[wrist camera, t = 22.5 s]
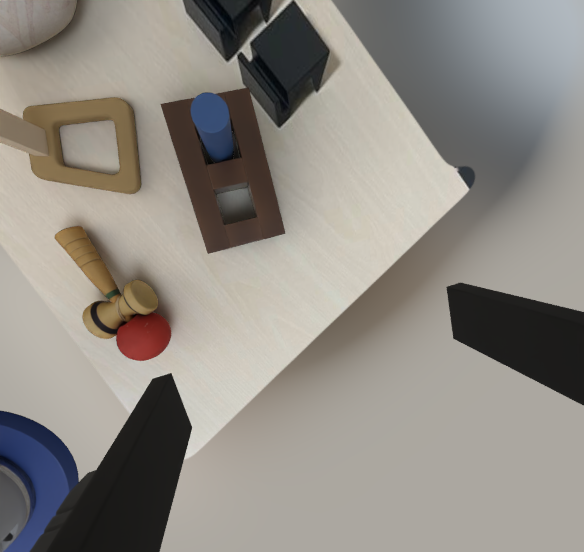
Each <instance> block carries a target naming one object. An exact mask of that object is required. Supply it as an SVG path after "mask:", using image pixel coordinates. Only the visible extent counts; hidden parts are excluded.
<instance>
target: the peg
mask: <svg viewBox="0 0 584 552" xmlns="http://www.w3.org/2000/svg"><path fill="white" fill-rule="evenodd" d="M191 117H192V120H193V122H194V124H195V126H196V128H197V130H198V133H199V135H200V137H201V139H202V141H203V143H204V146H205V148H206V150H207V152H208V154H209V156H210V158H211V160H212V161H213V162H214V163H219V162H223V161H228V160H232V159H233V158H234V147H233V139H232V131H231V123H230V115H229V109H228V106H227V104H226V103H225V101H224V100H223V99H222V98H221V97H220V96H218V95H216V94H213V93H202V94H200V95H198V96H197V97H196V98H195V99H194V100H193V102H192V104H191Z"/></svg>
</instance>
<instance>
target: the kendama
mask: <svg viewBox="0 0 584 552" xmlns="http://www.w3.org/2000/svg"><path fill="white" fill-rule="evenodd" d="M55 239H56V241H57V242H58V243H59V244H60V245H61V246H62V247H63V248H64V249H65V250H66V252H67V253H68V254H69V255H70V256H71V258H72V259H73V260H74V261H75V262H76V264H77V265H78V266H79V267H80V268H81V270H82V271H83V272H84V273H85V275H86V276H87V277H88V278H89V279H90V280H91V282H92V283H93V284H94V285H95V286H96V287H97V288H98V289H99V290H100V291H101V292H102V293H103V294H104V295H105V296H106V297H107V298H108V299H109V300H110V301H111V302H106V301H96V302H94V303H92V304H91V305H89V306H88V307H87V308H86V309H85V310H84V312H83V322H84V324H85V326H86V328H87V329H88V330H89V331H90V332H91V333H92V334H93V335H95V336H97V337H99V338H103V339H109V338H112V337H114V336H116V335H117V336H116V341H117V346H118V348H119V350H120V351H121V353H122V354H124V355H125V356H126V357H128V358H130V359H133V360H138V361H144V360H149V359H151V358H154V357H156V356H158V355H159V354H160V353H162V352H163V351H164V349H165V348H166V347H167V345H168V344H169V341H170V338H171V328H170V325H169V323H168V322H167V320H166V319H165V318H164V317H163V316H161V315H159V314H157V313H154V312H153V311H154V310H155V309H156V308H157V306H158V300H157V296H156V294H155V292H154V291H153V290H152V288H151V287H150V286H149V285H147V284H146V283H145V282H143V281H140V280H134V281H131V282H129V283H128V284H126V285H125V287H124V291H123V295H121V293H120V292H119V289H118V287H117V285H116V283H115V281H114V279H113V278H112V276H111V274H110V272H109V270H108V269H107V267H106V265H105V264H104V262H103V261H102V260H101V257H100V256H99V254H98V253H97V251H96V249H95V248H94V246H93V244H92V243H91V241H90V240H89V238H88V236H87V234H86V232H85V230H84V229H83V228H82V227H80V226H74V227H69V228H66V229H64V230H61V231H60V232H58V233H57V234H56V235H55Z"/></svg>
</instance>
